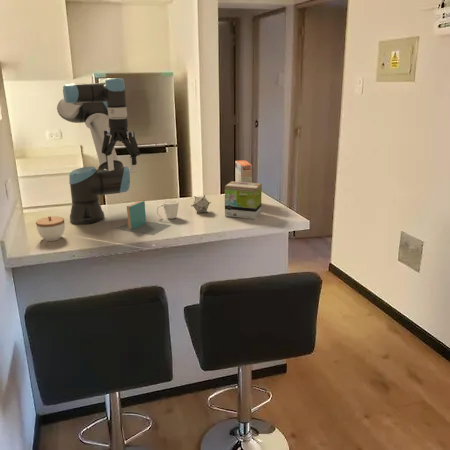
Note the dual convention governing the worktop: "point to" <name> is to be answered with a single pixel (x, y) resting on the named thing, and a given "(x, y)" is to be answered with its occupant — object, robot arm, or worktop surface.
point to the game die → (200, 204)
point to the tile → (136, 215)
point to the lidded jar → (50, 228)
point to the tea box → (243, 199)
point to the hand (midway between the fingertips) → (122, 171)
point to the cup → (170, 209)
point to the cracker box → (243, 171)
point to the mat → (145, 228)
